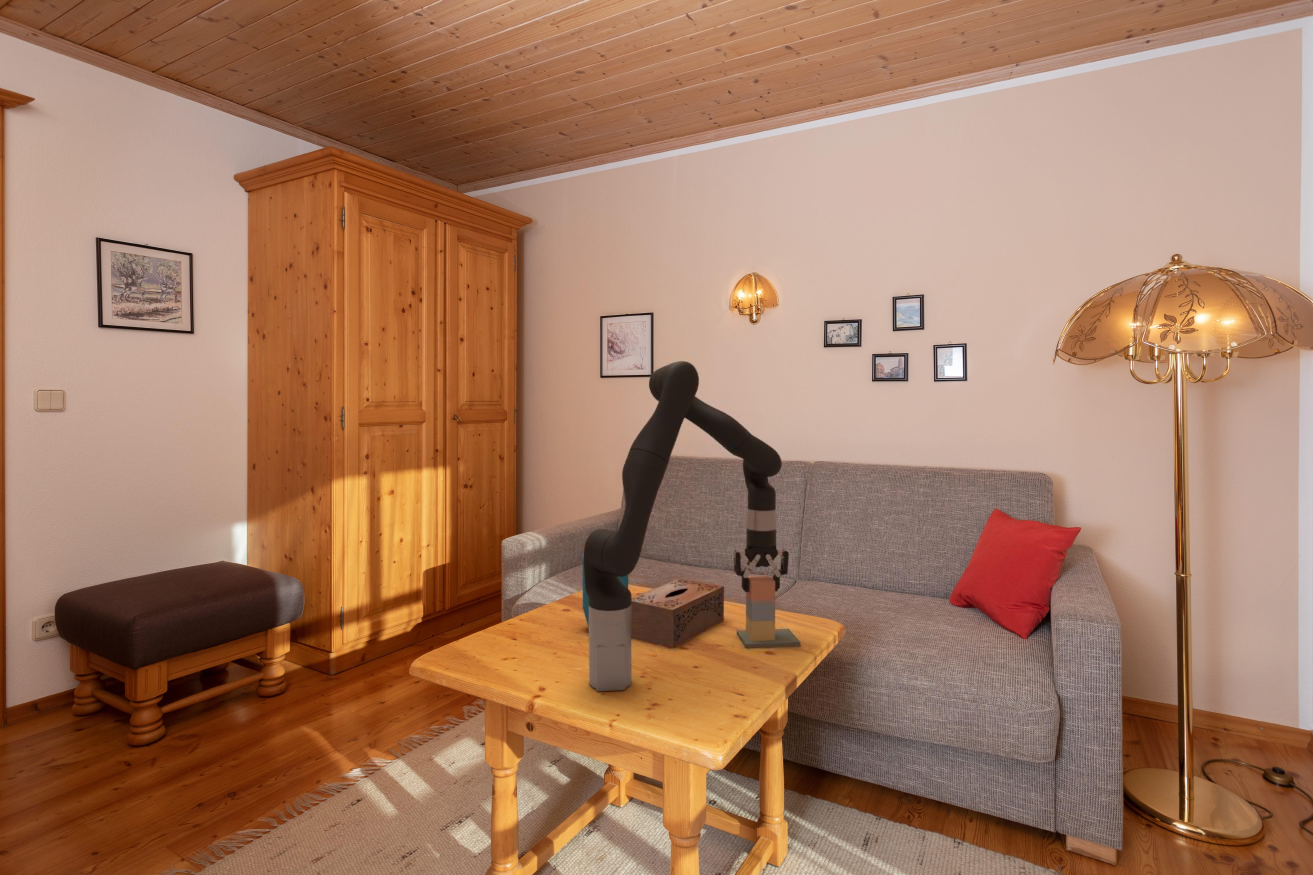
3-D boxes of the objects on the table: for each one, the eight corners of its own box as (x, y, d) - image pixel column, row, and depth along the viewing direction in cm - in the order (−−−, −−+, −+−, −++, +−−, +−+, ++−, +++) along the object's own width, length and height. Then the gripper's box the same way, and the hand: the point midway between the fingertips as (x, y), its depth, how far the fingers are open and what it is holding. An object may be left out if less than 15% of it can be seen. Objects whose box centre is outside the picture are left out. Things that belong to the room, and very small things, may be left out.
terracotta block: (774, 600, 171) (775, 581, 170) (751, 601, 170) (751, 581, 170) (768, 594, 177) (768, 575, 176) (745, 594, 176) (746, 575, 176)
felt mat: (800, 645, 170) (800, 641, 170) (745, 648, 169) (745, 644, 169) (788, 632, 180) (788, 628, 180) (736, 634, 179) (736, 630, 178)
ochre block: (774, 640, 171) (775, 620, 171) (751, 640, 171) (751, 621, 170) (768, 631, 177) (768, 612, 177) (745, 632, 177) (746, 613, 176)
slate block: (775, 620, 171) (775, 600, 171) (751, 621, 170) (751, 601, 170) (768, 612, 177) (768, 594, 177) (745, 613, 176) (746, 594, 176)
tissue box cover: (680, 612, 198) (680, 578, 197) (723, 621, 189) (724, 586, 189) (626, 637, 177) (626, 599, 176) (672, 649, 168) (672, 609, 168)
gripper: (736, 530, 168) (736, 596, 169) (793, 528, 169) (792, 594, 170) (730, 524, 175) (729, 587, 176) (784, 523, 177) (783, 586, 178)
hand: (760, 590), depth 173 cm, fingers open, 7 cm apart
